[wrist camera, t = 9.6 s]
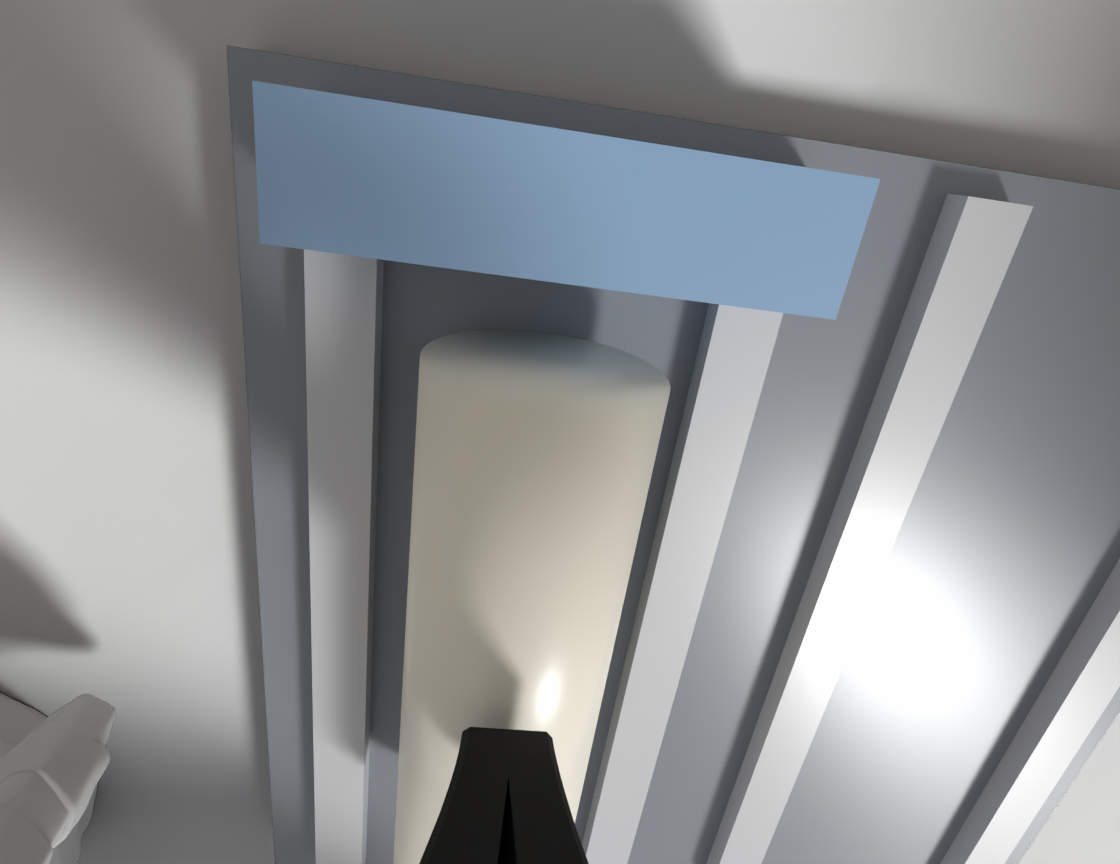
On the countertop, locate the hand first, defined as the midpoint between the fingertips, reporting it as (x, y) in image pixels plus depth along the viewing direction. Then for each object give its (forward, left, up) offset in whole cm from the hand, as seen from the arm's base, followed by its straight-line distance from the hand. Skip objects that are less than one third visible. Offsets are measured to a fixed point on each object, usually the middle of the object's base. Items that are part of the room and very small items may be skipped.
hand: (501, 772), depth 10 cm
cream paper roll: (0, 0, -5) cm, 5 cm away
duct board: (0, -6, -6) cm, 8 cm away
